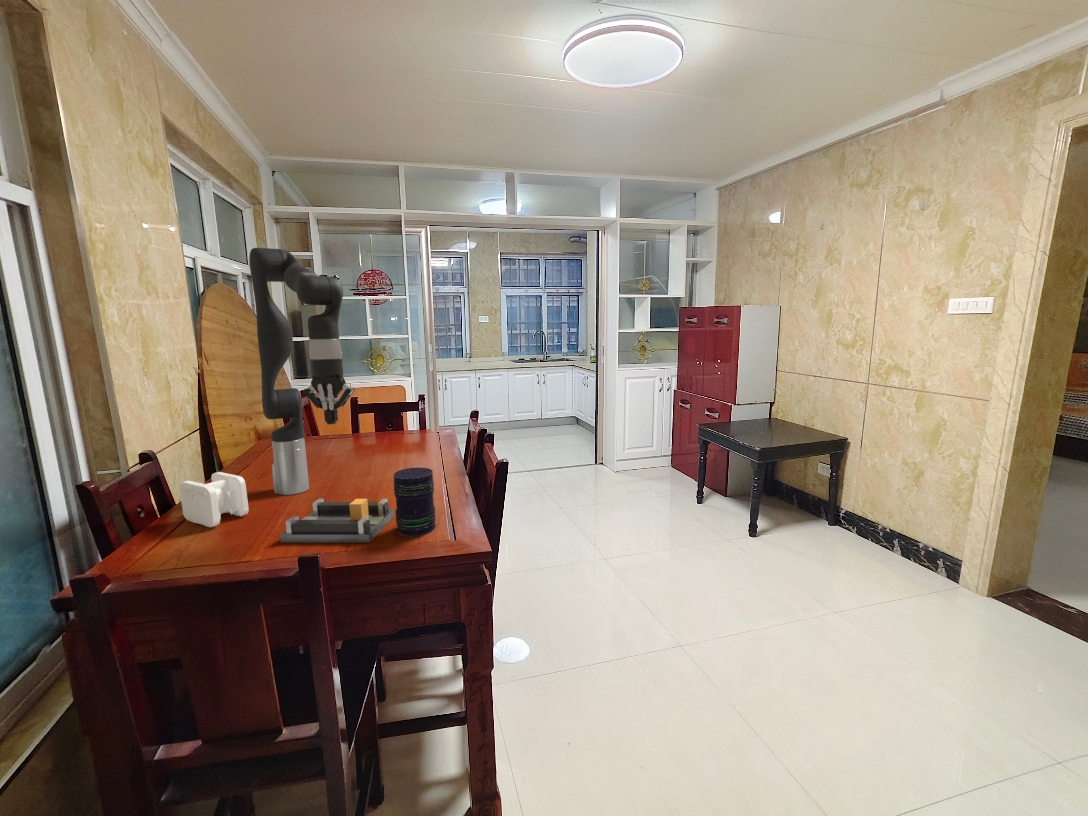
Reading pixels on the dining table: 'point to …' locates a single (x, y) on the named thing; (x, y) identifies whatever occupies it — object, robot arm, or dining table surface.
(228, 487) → the cable organizer
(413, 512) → the dark blue cylinder
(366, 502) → the toggle
